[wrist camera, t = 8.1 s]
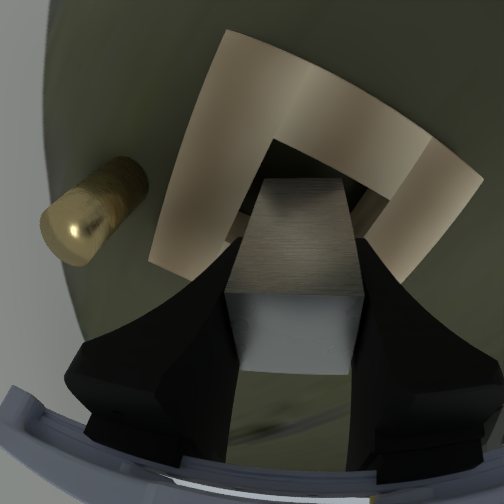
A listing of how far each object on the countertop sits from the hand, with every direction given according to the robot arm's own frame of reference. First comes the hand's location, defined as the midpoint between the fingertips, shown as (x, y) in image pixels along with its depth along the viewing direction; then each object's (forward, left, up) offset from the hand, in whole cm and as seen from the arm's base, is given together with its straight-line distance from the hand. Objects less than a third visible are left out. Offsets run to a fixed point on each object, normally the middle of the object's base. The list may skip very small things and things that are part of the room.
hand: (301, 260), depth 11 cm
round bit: (+9, +4, -6) cm, 12 cm away
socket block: (0, 0, -6) cm, 6 cm away
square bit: (0, 0, -3) cm, 3 cm away
